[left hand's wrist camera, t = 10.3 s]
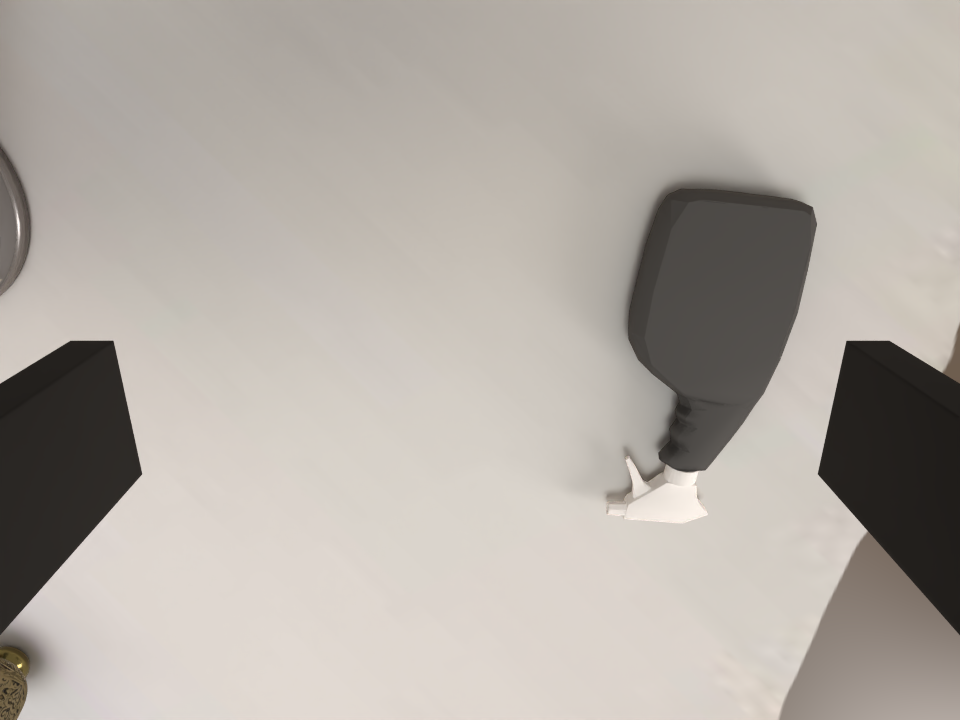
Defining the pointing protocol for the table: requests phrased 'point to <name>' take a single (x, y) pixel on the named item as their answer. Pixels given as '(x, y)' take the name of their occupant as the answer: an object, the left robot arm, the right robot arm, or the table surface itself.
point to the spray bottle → (712, 327)
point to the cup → (12, 682)
